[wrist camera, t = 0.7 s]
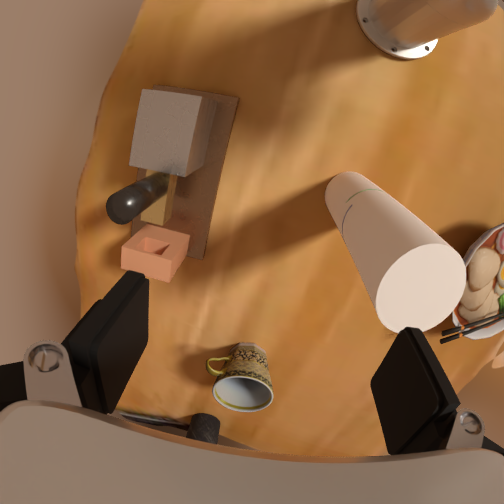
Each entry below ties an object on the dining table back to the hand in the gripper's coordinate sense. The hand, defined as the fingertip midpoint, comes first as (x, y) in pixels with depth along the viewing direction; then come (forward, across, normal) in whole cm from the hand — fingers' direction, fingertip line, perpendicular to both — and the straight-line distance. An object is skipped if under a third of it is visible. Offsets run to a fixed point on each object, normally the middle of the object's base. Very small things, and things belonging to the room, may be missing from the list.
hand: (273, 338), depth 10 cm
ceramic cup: (+34, -2, +31) cm, 46 cm away
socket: (+33, +14, +12) cm, 38 cm away
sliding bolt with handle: (+27, +13, -1) cm, 30 cm away
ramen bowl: (+32, -41, +4) cm, 52 cm away
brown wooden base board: (+33, +13, +2) cm, 35 cm away
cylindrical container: (+33, -11, 0) cm, 34 cm away
